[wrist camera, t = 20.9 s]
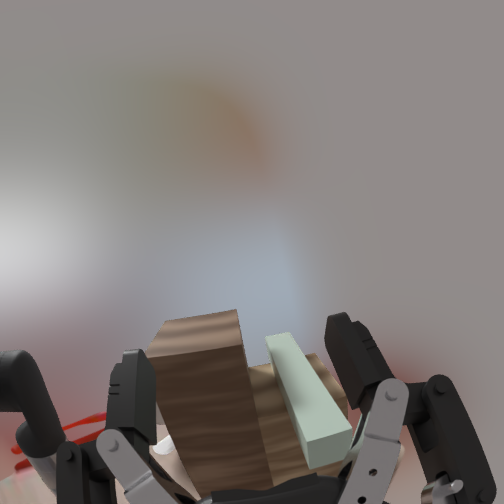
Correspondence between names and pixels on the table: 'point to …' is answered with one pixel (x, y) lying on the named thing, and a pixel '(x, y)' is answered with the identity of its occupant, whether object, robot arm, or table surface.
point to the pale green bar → (308, 404)
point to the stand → (228, 407)
